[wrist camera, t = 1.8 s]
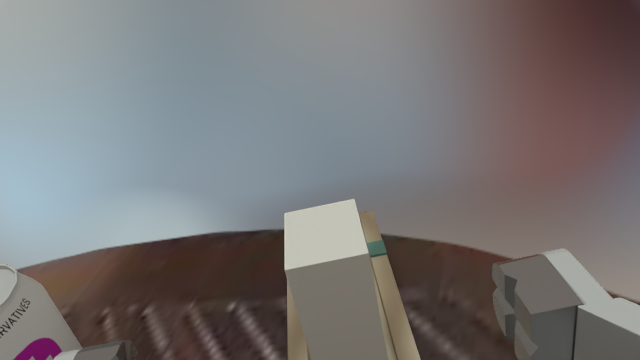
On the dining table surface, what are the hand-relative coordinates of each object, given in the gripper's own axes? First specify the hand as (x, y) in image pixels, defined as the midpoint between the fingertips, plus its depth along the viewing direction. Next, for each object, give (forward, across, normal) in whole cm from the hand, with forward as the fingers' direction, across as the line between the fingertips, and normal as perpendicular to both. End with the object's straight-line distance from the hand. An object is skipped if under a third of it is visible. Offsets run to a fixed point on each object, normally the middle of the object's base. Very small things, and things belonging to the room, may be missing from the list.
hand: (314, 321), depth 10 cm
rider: (+12, 0, +16) cm, 20 cm away
